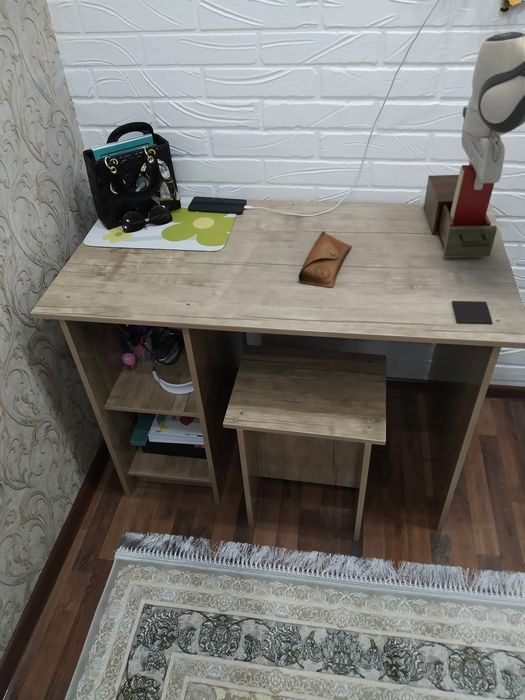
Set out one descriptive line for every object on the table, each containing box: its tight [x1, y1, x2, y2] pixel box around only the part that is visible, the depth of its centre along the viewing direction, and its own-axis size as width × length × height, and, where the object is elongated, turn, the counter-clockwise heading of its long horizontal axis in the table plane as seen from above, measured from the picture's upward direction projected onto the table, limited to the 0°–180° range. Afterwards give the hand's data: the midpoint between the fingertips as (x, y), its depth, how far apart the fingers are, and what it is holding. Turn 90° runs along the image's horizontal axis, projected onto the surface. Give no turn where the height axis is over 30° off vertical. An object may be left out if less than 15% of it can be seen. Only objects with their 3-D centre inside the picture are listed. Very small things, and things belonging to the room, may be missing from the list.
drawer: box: [438, 204, 498, 258], centre depth 133 cm, size 17×10×7 cm, turn 177°
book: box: [450, 164, 495, 226], centre depth 129 cm, size 7×3×15 cm, turn 87°
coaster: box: [451, 300, 493, 325], centre depth 118 cm, size 7×7×1 cm
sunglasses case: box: [298, 230, 352, 288], centre depth 133 cm, size 18×7×7 cm
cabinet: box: [423, 174, 459, 236], centre depth 143 cm, size 14×12×9 cm
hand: (474, 183), depth 126 cm, fingers closed on book, 3 cm apart
